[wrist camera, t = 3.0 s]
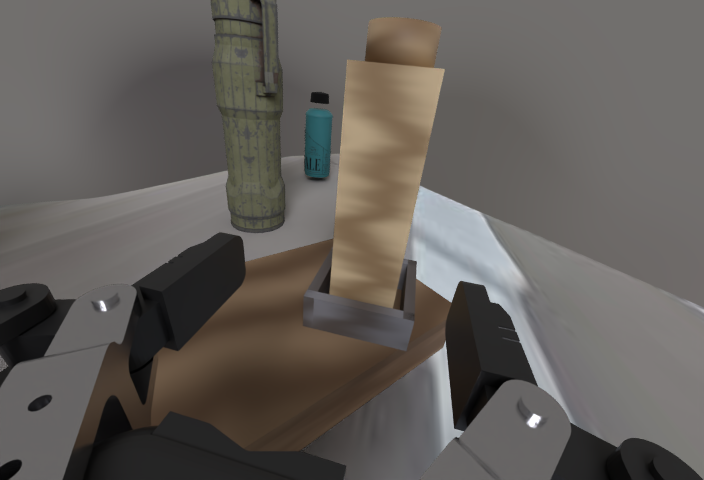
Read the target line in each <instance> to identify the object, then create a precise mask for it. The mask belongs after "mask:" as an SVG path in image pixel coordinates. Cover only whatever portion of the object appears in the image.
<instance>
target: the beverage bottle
mask: <svg viewBox="0 0 704 480" xmlns="http://www.w3.org/2000/svg"><path fill="white" fill-rule="evenodd" d="M311 102H315V103H323V104H329V95H328V94H326V93H322V92H312V93H311ZM332 117H333V116H332V114H331V113H330V111H329V110H326V109H318V108H310V109H309V110H308V111H307V112H306V129H305V130H306V135H305V138H306V139H305V155H304V157H305V158H304V165H305V169H304V170H305V174H306V175H308V176H311V177H327V176H328V175H329V170H330V162H331V161H330V146H331V130H332Z"/></svg>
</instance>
